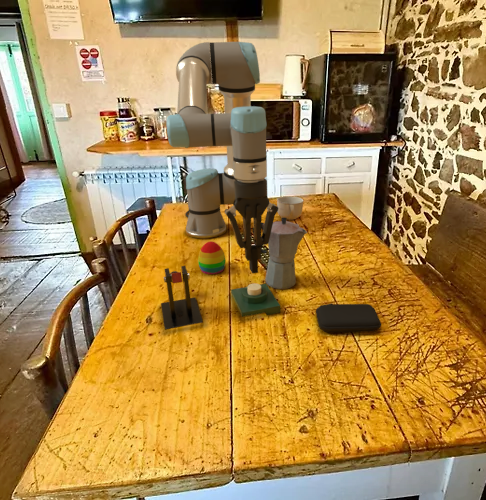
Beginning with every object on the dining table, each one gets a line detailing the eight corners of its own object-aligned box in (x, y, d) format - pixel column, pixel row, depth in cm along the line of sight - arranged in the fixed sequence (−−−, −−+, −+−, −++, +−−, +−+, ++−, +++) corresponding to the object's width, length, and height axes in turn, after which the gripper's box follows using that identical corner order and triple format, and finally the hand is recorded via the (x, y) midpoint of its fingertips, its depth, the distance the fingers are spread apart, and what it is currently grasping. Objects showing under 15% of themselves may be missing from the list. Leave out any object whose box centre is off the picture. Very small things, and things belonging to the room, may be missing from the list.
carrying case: (371, 308, 101) (314, 310, 101) (372, 298, 100) (314, 299, 100) (382, 334, 92) (319, 335, 92) (384, 323, 90) (319, 324, 90)
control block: (231, 296, 108) (230, 283, 106) (266, 290, 111) (265, 277, 109) (242, 320, 98) (241, 306, 96) (280, 312, 100) (280, 299, 99)
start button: (246, 290, 104) (245, 284, 103) (259, 288, 105) (258, 282, 104) (249, 297, 101) (249, 291, 100) (263, 294, 102) (263, 288, 101)
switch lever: (169, 283, 106) (167, 272, 106) (181, 281, 107) (179, 270, 107) (171, 285, 93) (169, 272, 93) (184, 283, 94) (182, 270, 94)
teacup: (278, 212, 170) (278, 194, 167) (303, 213, 169) (304, 195, 166) (274, 224, 158) (274, 205, 154) (301, 225, 156) (302, 205, 153)
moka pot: (303, 293, 109) (305, 225, 101) (249, 288, 112) (246, 221, 104) (307, 276, 118) (309, 213, 109) (257, 272, 120) (255, 210, 112)
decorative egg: (231, 272, 121) (229, 242, 116) (208, 281, 116) (205, 250, 112) (217, 263, 126) (215, 234, 122) (194, 271, 122) (191, 241, 118)
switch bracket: (161, 306, 104) (154, 263, 98) (195, 300, 106) (191, 257, 101) (165, 333, 93) (158, 286, 88) (203, 325, 96) (198, 279, 90)
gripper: (226, 185, 85) (232, 281, 95) (283, 179, 89) (283, 273, 98) (219, 177, 92) (225, 268, 101) (272, 172, 95) (273, 260, 105)
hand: (253, 270), depth 100 cm, fingers closed
